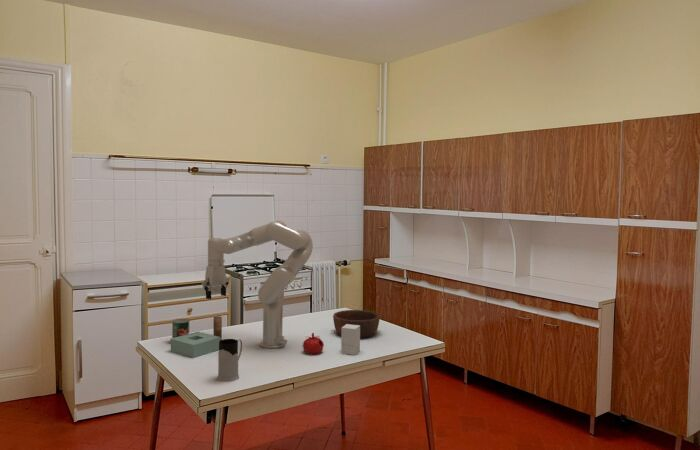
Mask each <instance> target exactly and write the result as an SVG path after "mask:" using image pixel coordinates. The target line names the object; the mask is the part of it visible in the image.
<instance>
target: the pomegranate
mask: <svg viewBox="0 0 700 450" xmlns="http://www.w3.org/2000/svg"><path fill="white" fill-rule="evenodd" d="M324 345H325V344H324V341H323V340H322V339H321V337H320V336H319V335H317V336H316V335H315V333H314V332H312V333H311V336H306V338H305V339H304V340H303V343H302V348H303V351H304V352H305V353H307V354H309V355H318V354H320V353H322V351H323V350H324V347H325V346H324Z"/></svg>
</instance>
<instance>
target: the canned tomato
mask: <svg viewBox="0 0 700 450" xmlns="http://www.w3.org/2000/svg"><path fill="white" fill-rule="evenodd" d="M171 324H172V328H171V332H172V334H171V335H172V338H175V337H179V336H183V335H187V334H190V319H189V318H177V319H173V320H172V323H171Z"/></svg>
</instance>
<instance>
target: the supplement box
mask: <svg viewBox="0 0 700 450" xmlns="http://www.w3.org/2000/svg"><path fill="white" fill-rule="evenodd" d="M340 337H341V341H340V342H341V343H340V344H341V345H340V346H341V347H340V349H341V350H340V351H341V353H340V354H343V355H351V356H356V355H357V354H358V353H360V351H361V338H360V325H350V324H346V325H344V326H343V327H342V328H341V336H340Z"/></svg>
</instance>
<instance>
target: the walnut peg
mask: <svg viewBox="0 0 700 450" xmlns="http://www.w3.org/2000/svg"><path fill="white" fill-rule="evenodd" d="M222 324H223V317H222V316H220V315H219V316H218V315H217V316H213V332H212V333H213V334H212V335H214V336H218V337H221V338H220V340H223V339H222V336H223V335H222V334H223V333H222V331H223V330H222V329H223V327H222V326H223V325H222Z"/></svg>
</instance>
